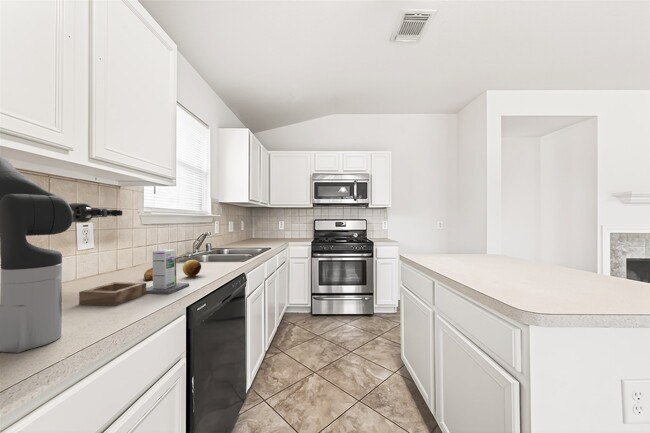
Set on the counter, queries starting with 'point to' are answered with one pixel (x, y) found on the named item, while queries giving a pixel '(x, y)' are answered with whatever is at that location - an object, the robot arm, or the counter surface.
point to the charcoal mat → (166, 291)
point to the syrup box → (164, 268)
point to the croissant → (148, 274)
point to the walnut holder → (112, 293)
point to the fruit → (192, 268)
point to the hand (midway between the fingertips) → (112, 212)
